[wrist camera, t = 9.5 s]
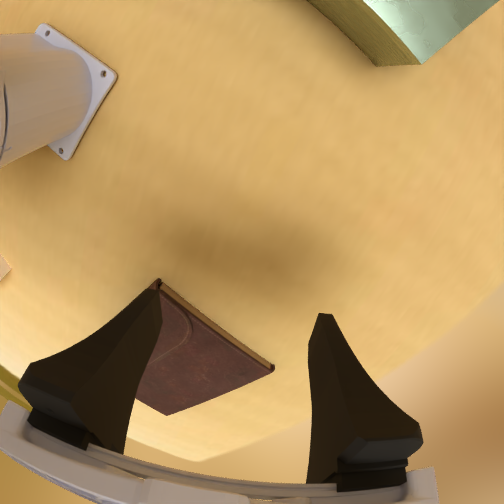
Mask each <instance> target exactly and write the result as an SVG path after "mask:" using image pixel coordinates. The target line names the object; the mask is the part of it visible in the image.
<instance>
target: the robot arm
mask: <svg viewBox="0 0 504 504" xmlns="http://www.w3.org/2000/svg"><path fill="white" fill-rule="evenodd" d="M49 31H50V34H49V36H48V33H49ZM104 71H106V73H107V74H106V76H105V77H104V76H103V73H104ZM116 78H117V75H116V73H115V71H113V70H112V69H110V68H109V67H108V66H106V65H105V64H104V63H102V62H101V61H100V60H98V59H97V58H96V57H94V56H93V55H91V54H90V53H89V52H87V51H86V50H84V49H83V48H82V47H80V46H79V45H77V44H76V43H75V42H73V41H72V40H70V39H69V38H67V37H66V36H64V35H63V34H62V33H60V32H59V31H57V30H56V29H54V28H53V27H51V26H50V25H48V24H47V23H41V24H40V25H39V26H38V28H37V30H36V32H35V33H20V34H0V168H2V167H4V166H6V165H7V164H9V163H11V162H13V161H15V160H17V159H19V158H21V157H23V156H25V155H27V154H29V153H31V152H33V151H35V150H37V149H39V148H41V147H44V146H46V145H47V146H49V147H50V148H51V149H52V150H53V151H54V152H55V153H56V154H58V155H59V156H60V157H61V158H62V159H63V160H68V159H70V158H71V157H72V155H73V153H74V151H75V149H76V147H77V145H78V143H79V141H80V139H81V138H82V136H83V134H84V132H85V130H86V128H87V127H88V125H89V123H90V121H91V120H92V118H93V116H94V114H95V113H96V111H97V109H98V108H99V106H100V104H101V103H102V101H103V99H104V98H105V96H106V95H107V93H108V91H109V90H110V88H111V87H112V85H113V84H114V82H115V81H116ZM61 149H63V152H62V150H61ZM162 323H163V319H162V311H161V302H160V293H159V290H154V289H148V288H147V289H145V290H144V291H143V292H142V293H141V294H140V295H139V296H138V297H137V298H135V299H134V300H133V301H132V302H131V303H130V304H129V305H128V306H127V307H126V308H124V309H123V310H122V311H121V312H120V313H119V314H118V315H116V316H115V317H114V318H113V319H112V320H110V321H109V322H108V323H107V324H105V325H104V326H103V327H101V328H100V329H99V330H97V331H96V332H95V333H93V334H92V335H90V336H89V337H87V338H85V339H84V340H82V341H80V342H79V343H77V344H75V345H73V346H71V347H70V348H68V349H66V350H63V351H61V352H59V353H57V354H55V355H52V356H50V357H47V358H44V359H41V360H38V361H36V362H32V363H30V365H29V366H28V368H27V369H26V371H25V373H24V374H23V376H22V378H21V379H20V381H19V383H18V388H19V390H20V392H21V393H22V395H23V396H24V397H25V399H26V400H27V401H28V402H29V403H30V405H31V406H32V407H33V409H32V411H31V413H30V412H29V411H28V410H27V409H25V408H23V407H21V406H20V405H18V404H16V403H14V402H12V401H11V400H8V402H7V403H6V405H5V407H4V409H3V411H2V413H1V415H0V450H1V451H3V452H4V453H5V454H7V455H8V456H9V457H11V458H12V459H13V460H14V461H16V462H17V463H19V464H21V465H22V466H24V467H26V468H27V469H29V470H31V471H33V472H34V473H36V474H38V475H40V476H41V477H43V478H45V479H47V480H49V481H50V482H52V483H54V484H56V485H58V486H60V487H62V488H64V489H66V490H68V491H70V492H72V493H75V494H77V495H79V496H81V497H83V498H85V499H88V500H90V501H92V502H95V503H97V504H439V497H438V490H437V483H436V478H435V472H434V467H432V466H431V467H426V468H422V469H416V470H411V471H409V472H406V470H405V467H406V466H408V459H407V458H408V457H409V456H411V455H412V454H413V453H415V452H416V451H417V450H418V449H419V448H420V447H421V446H422V444H423V438H422V432H421V429H420V426H419V423H418V422H417V421H415V420H414V419H413V418H411V417H410V416H409V415H407V414H406V413H405V412H403V411H402V410H401V409H400V408H399V407H398V406H397V405H396V404H394V403H393V402H392V401H391V400H390V399H389V398H388V397H387V396H386V395H385V394H384V393H383V392H382V391H381V390H380V388H379V387H378V386H377V385H376V384H375V383H374V381H373V380H372V379H371V378H370V376H369V375H368V374H367V372H366V371H365V370H364V368H363V367H362V365H361V364H360V362H359V361H358V359H357V358H356V356H355V355H354V353H353V351H352V350H351V348H350V346H349V345H348V343H347V341H346V339H345V338H344V336H343V334H342V332H341V330H340V328H339V326H338V324H337V322H336V320H335V318H334V316H333V315H332V314H324V313H319V314H318V317H317V320H316V323H315V326H314V329H313V332H312V335H311V337H310V340H309V343H308V369H309V379H310V390H311V401H312V427H311V443H310V455H309V465H308V472H307V479H306V484H290V483H269V482H256V481H246V480H237V479H229V478H222V477H215V476H209V475H203V474H198V473H192V472H187V471H182V470H178V469H173V468H169V467H165V466H160V465H157V464H153V463H149V462H145V461H142V460H138V459H135V458H131V457H128V456H125V455H123V454H124V447H125V441H126V435H127V430H128V425H129V420H130V416H131V412H132V408H133V404H134V400H135V396H136V393H137V389H138V386H139V383H140V380H141V378H142V375H143V373H144V371H145V368H146V366H147V364H148V361H149V359H150V357H151V355H152V352H153V350H154V348H155V345H156V343H157V340H158V337H159V334H160V330H161V327H162ZM138 477H140V478H143V479H140V478H138ZM144 479H145V480H144ZM249 498H251V499H249ZM256 499H263V500H272V501H263V500H256Z"/></svg>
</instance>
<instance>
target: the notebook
mask: <svg viewBox="0 0 504 504" xmlns="http://www.w3.org/2000/svg"><path fill="white" fill-rule="evenodd" d="M160 281H161V279H160V278H159V279H157V280H156V281H155V282H154V283H153V284H152V285H151V286H150V287H149V288H148V289H154V290H159V293H160V302H161V311H162V319H163V323H162V327H161V330H160V334H159V337H158V340H157V343H156V345H155V348H154V350H153V352H152V355H151V357H150V359H149V361H148V364H147V366H146V368H145V371H144V373H143V375H142V378H141V380H140V383H139V386H138V389H137V393H136V396H135V398H136V399H138V400H139V401H141V402H143V403H144V404H146V405H148V406H150V407H151V408H153V409H155V410H157V411H158V412H160V413H162V414H164V415H166V416H168V415H171V414H174V413H176V412H179V411H182V410H185V409H187V408H190V407H193V406H195V405H198V404H200V403H203V402H206V401H208V400H211V399H213V398H216V397H218V396H220V395H223V394H225V393H228V392H230V391H232V390H235V389H237V388H239V387H242V386H244V385H246V384H248V383H251V382H253V381H255V380H257V379H259V378H262V377H264V376H266V375H268V374H270V373H272V372H273V371H274V370H275V365H274V364H273V365H272V364H271V363H269V362H268V361H267V360H265V359H264V358H262V357H261V356H259V355H258V354H257V353H255V352H254V351H252V350H251V349H249V348H248V347H247V346H245V345H244V344H243V343H241V342H240V341H238V340H237V339H236V338H234V337H233V336H232V335H230V334H229V333H227V332H226V331H225V330H223V329H222V328H221V327H219V326H218V325H217V324H215V323H214V322H213V321H211V320H210V319H209V318H207V317H206V316H205V315H204V314H202V313H201V312H200V311H198V310H197V309H196V308H195V307H193V306H192V305H191V304H189V303H188V302H187V301H186V300H184V299H183V298H182V297H181V296H179V295H178V294H177V293H176V292H174V291H173V290H172V289H171V288H169V287H168V286H167V285H166V284H164V283H162V284H161V285H160V286H158V284H159V282H160Z"/></svg>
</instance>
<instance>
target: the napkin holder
mask: <svg viewBox="0 0 504 504" xmlns="http://www.w3.org/2000/svg"><path fill="white" fill-rule="evenodd" d="M11 269H12V268H11V267H10V265H9V264H8V263H7V261H6V260H5V259H4V257H3V256H2V254H1V253H0V281H1V280H2V279H3V277H4V276H5V275H6V274H7V273H8V272H9V271H10V270H11Z"/></svg>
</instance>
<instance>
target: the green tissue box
mask: <svg viewBox="0 0 504 504" xmlns="http://www.w3.org/2000/svg"><path fill="white" fill-rule="evenodd" d="M307 1H308V2H310V3H311V4H312V5H313V6H314V7H316V8H317V9H318V10H319V11H320V12H321V13H323V14H324V15H325V16H326V17H327V18H328V19H329V20H331V21H332V22H333V23H334V24H335V25H336V26H337V27H338V28H339V29H340V30H341V31H342V32H344V33H345V34H346V35H347V36H348V37H349V38H350V39H351V40H352V41H353V42H354V43H355V44H356V45H357V46H358V47H359V48H360V49H361V50H362V51H363V52H364V53H365V54H366V56H367V57H368V58H369V59H370V60H371V61H372V62H373V63H374V64H375V65H376V66H377V67H378V66H393V65H420V64H423V63H424V62H425V61H426V60H428V59H429V58H430V57H431V56H432V55H433V54H435V53H436V52H437V51H438V50H439V49H441V48H442V47H443V46H444V45H445V44H446V43H448V42H449V41H450V40H451V39H452V38H454V37H455V36H456V35H457V34H458V33H460V32H461V31H462V30H463V29H464V28H466V27H467V26H468V25H469V24H471V23H472V22H473V21H474V20H475V19H477V18H478V17H479V16H480V15H482V14H483V13H484V12H485V11H487V10H488V9H489V8H490V7H492V6H493V5H494V4H495V3H497V2H498V1H499V0H307Z"/></svg>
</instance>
